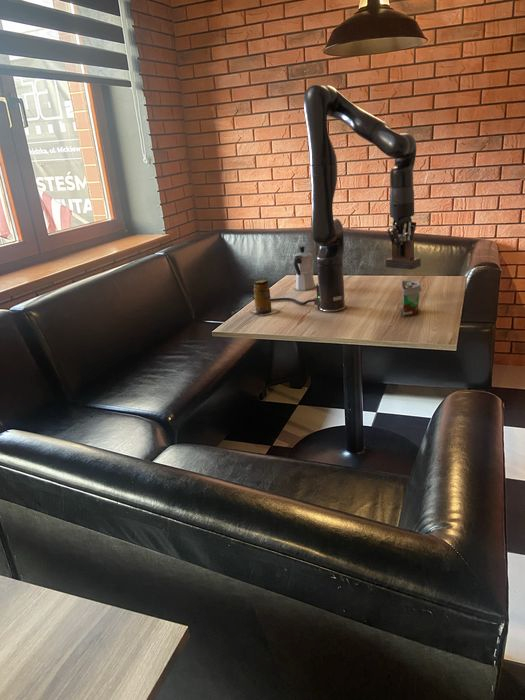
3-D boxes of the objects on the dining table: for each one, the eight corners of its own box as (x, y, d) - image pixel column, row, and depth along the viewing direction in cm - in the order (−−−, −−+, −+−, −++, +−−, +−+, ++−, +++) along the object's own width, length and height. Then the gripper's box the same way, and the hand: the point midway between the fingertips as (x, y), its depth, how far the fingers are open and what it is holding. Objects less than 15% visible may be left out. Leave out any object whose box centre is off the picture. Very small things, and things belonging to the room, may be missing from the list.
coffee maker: (301, 284, 239) (298, 243, 233) (319, 284, 235) (317, 243, 229) (288, 293, 227) (284, 250, 221) (307, 293, 223) (304, 250, 217)
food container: (422, 317, 179) (422, 288, 175) (403, 318, 180) (403, 289, 177) (420, 306, 190) (420, 279, 187) (402, 307, 191) (402, 280, 188)
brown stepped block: (385, 267, 178) (385, 241, 175) (394, 264, 182) (393, 238, 179) (412, 269, 171) (412, 242, 168) (420, 266, 175) (420, 239, 172)
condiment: (267, 307, 209) (264, 277, 205) (278, 312, 202) (275, 281, 198) (251, 312, 206) (247, 281, 202) (261, 316, 199) (258, 285, 195)
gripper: (403, 198, 176) (404, 250, 182) (379, 204, 168) (380, 259, 174) (424, 198, 171) (424, 251, 177) (400, 204, 162) (400, 260, 168)
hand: (402, 255), depth 175 cm, fingers closed on brown stepped block
